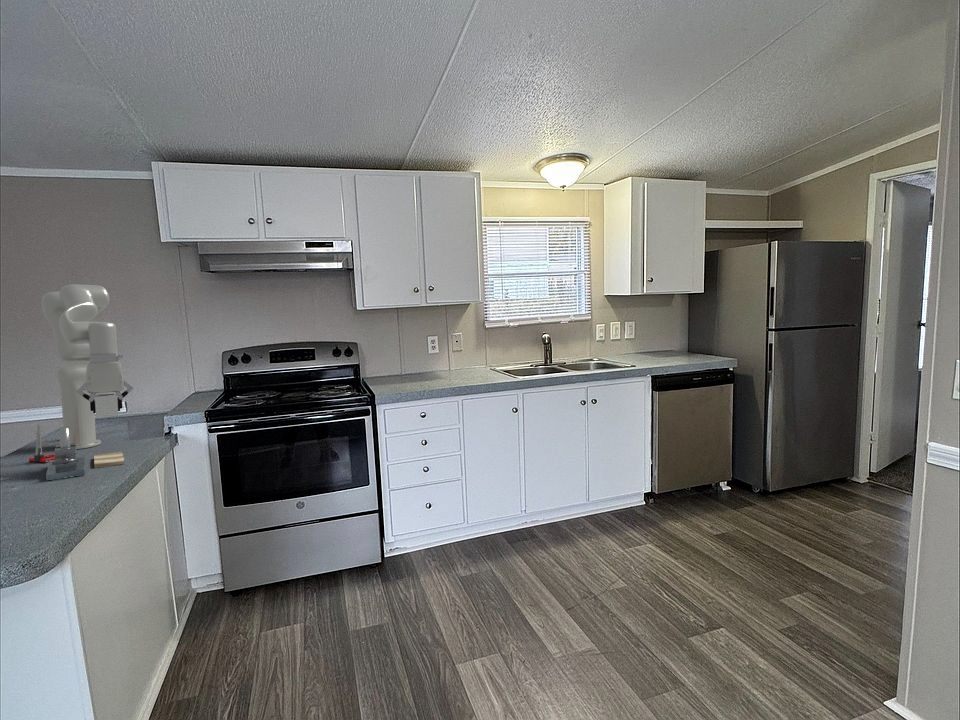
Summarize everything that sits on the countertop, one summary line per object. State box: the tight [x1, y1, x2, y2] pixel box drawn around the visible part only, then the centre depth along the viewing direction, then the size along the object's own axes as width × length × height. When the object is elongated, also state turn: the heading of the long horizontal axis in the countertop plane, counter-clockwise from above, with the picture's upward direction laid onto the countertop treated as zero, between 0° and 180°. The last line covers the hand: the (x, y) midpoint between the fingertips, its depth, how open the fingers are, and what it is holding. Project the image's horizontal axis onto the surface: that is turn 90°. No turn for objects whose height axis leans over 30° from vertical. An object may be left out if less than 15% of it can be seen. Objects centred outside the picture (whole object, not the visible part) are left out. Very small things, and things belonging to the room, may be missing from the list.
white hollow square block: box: [94, 392, 119, 419], centre depth 169 cm, size 6×6×7 cm
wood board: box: [93, 451, 126, 469], centre depth 171 cm, size 14×8×1 cm, turn 38°
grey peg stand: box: [45, 427, 86, 482], centre depth 159 cm, size 18×9×14 cm, turn 38°
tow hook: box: [28, 424, 55, 463], centre depth 173 cm, size 8×13×9 cm
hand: (106, 411), depth 169 cm, fingers closed on white hollow square block, 6 cm apart
